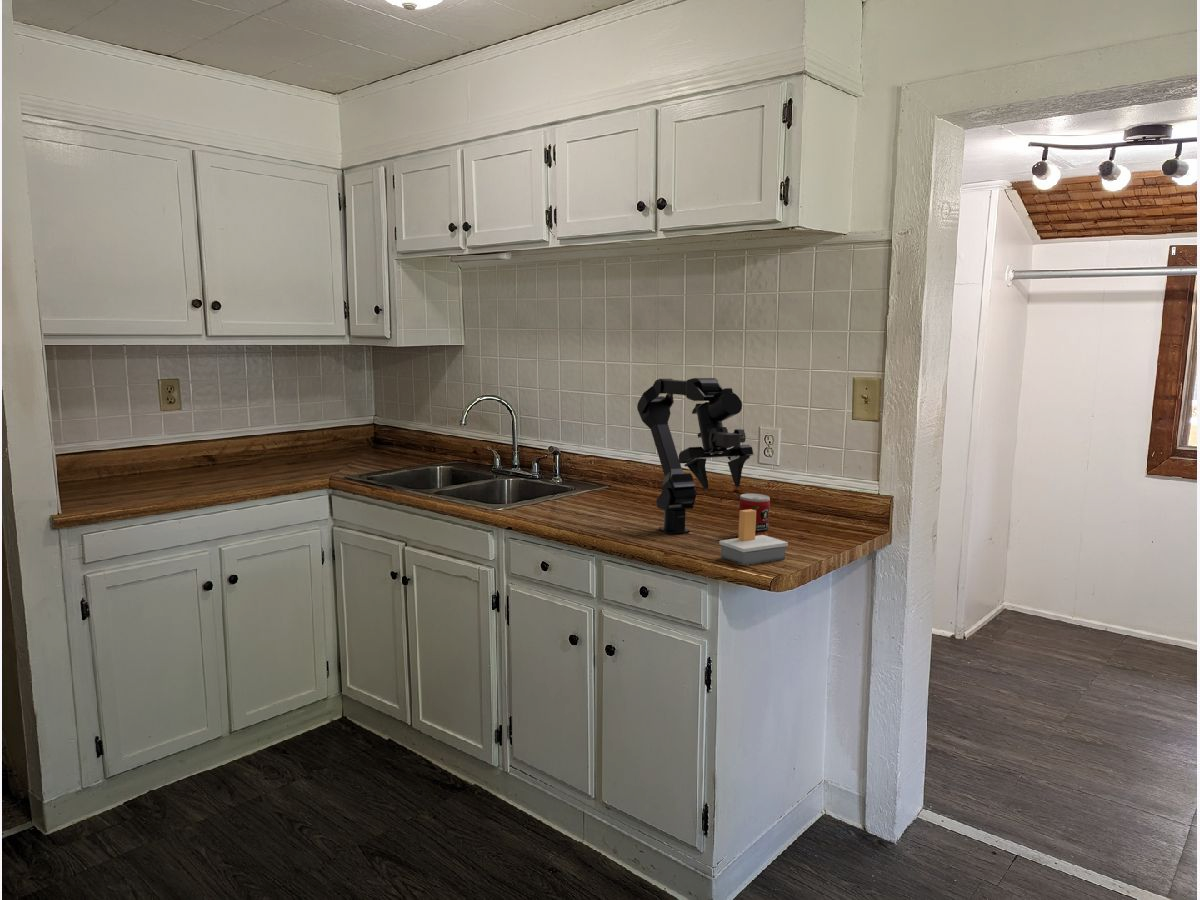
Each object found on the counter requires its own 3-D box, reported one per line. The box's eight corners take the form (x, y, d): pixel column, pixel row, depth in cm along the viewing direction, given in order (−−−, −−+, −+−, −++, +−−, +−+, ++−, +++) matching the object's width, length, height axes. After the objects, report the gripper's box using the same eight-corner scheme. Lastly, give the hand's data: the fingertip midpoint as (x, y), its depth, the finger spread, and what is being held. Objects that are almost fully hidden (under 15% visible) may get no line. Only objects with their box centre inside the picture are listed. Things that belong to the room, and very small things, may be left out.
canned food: (753, 542, 219) (755, 500, 218) (731, 536, 226) (733, 495, 224) (774, 538, 224) (776, 497, 222) (752, 532, 230) (754, 492, 229)
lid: (719, 544, 203) (720, 511, 202) (762, 537, 210) (764, 506, 209) (743, 552, 196) (745, 518, 195) (787, 545, 203) (789, 513, 202)
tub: (720, 557, 203) (721, 545, 203) (761, 551, 210) (762, 539, 210) (743, 565, 197) (744, 553, 196) (784, 559, 204) (785, 546, 203)
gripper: (696, 418, 201) (708, 483, 198) (760, 416, 209) (772, 478, 206) (672, 431, 211) (683, 493, 207) (734, 428, 219) (746, 488, 216)
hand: (722, 488), depth 209 cm, fingers open, 9 cm apart
